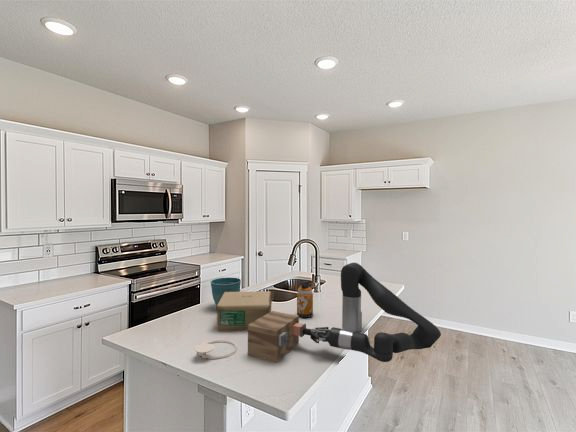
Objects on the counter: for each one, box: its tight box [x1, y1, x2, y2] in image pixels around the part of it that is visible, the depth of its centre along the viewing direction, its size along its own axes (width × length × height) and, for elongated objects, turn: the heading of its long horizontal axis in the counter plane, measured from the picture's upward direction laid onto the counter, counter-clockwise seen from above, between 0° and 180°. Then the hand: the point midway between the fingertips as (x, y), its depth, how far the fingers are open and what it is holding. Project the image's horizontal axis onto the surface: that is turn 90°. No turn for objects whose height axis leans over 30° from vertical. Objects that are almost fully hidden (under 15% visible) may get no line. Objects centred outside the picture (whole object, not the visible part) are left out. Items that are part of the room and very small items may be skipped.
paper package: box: [216, 290, 273, 332], centre depth 169 cm, size 27×26×14 cm
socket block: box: [247, 310, 300, 363], centre depth 138 cm, size 20×14×12 cm
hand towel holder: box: [193, 339, 238, 360], centre depth 135 cm, size 17×4×21 cm
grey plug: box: [279, 332, 288, 347], centre depth 132 cm, size 4×16×4 cm, turn 62°
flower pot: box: [210, 276, 242, 310], centre depth 191 cm, size 18×18×17 cm
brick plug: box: [292, 322, 307, 338], centre depth 141 cm, size 4×16×4 cm, turn 62°
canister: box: [296, 279, 314, 319], centre depth 179 cm, size 9×11×20 cm
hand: (303, 331), depth 137 cm, fingers closed
